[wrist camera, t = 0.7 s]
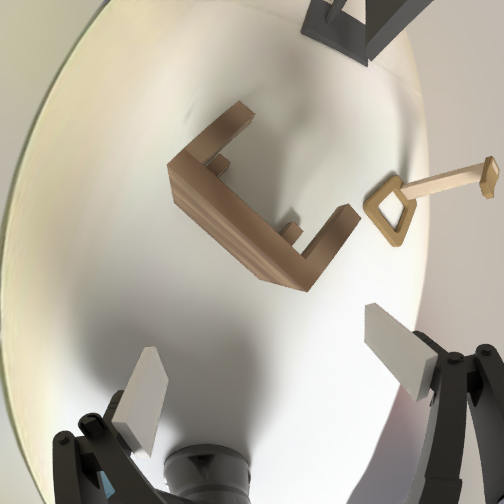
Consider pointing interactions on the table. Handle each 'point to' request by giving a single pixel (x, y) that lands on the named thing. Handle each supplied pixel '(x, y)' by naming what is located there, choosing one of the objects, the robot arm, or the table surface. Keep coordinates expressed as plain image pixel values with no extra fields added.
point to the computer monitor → (360, 25)
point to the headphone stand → (423, 187)
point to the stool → (249, 212)
